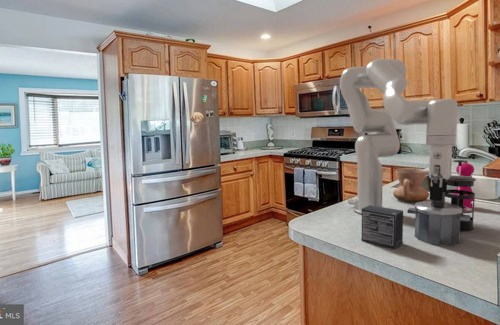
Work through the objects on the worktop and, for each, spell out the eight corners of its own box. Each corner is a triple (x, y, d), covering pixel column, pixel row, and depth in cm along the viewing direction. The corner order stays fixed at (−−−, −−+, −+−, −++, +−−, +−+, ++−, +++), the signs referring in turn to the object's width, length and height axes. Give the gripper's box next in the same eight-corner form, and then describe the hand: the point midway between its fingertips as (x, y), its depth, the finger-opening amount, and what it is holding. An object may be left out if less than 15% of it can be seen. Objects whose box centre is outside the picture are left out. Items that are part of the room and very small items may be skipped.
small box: (403, 243, 92) (404, 209, 90) (395, 250, 87) (396, 215, 86) (369, 235, 99) (370, 204, 98) (360, 240, 95) (360, 208, 93)
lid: (410, 212, 92) (411, 193, 92) (418, 202, 102) (419, 186, 101) (459, 218, 85) (461, 199, 84) (463, 208, 94) (464, 190, 93)
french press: (444, 219, 111) (447, 157, 108) (476, 225, 104) (480, 159, 101) (436, 228, 103) (439, 161, 100) (470, 234, 96) (474, 163, 93)
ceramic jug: (399, 194, 150) (399, 166, 148) (432, 198, 140) (433, 168, 138) (387, 203, 137) (387, 172, 135) (422, 207, 127) (423, 174, 125)
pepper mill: (477, 209, 121) (480, 160, 118) (457, 209, 122) (459, 160, 120) (468, 205, 128) (471, 158, 125) (449, 204, 129) (451, 158, 127)
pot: (403, 238, 95) (404, 211, 94) (411, 227, 104) (412, 202, 103) (467, 250, 85) (468, 219, 84) (469, 237, 94) (471, 209, 93)
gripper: (452, 143, 81) (449, 205, 84) (458, 139, 95) (455, 192, 97) (421, 143, 86) (419, 201, 88) (430, 139, 99) (428, 189, 102)
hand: (438, 196), depth 93 cm, fingers open, 9 cm apart
